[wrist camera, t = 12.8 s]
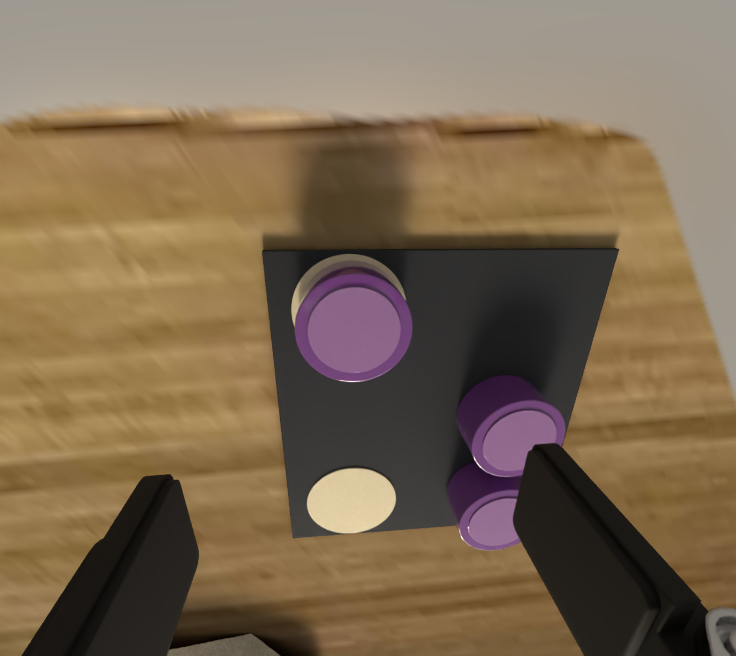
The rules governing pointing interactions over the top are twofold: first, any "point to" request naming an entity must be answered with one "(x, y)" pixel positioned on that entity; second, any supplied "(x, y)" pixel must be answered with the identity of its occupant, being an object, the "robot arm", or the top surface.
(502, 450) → the dish
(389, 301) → the purple short cylinder
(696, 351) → the top surface
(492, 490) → the dish
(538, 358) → the mat
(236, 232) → the top surface
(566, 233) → the top surface
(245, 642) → the stone
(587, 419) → the top surface
